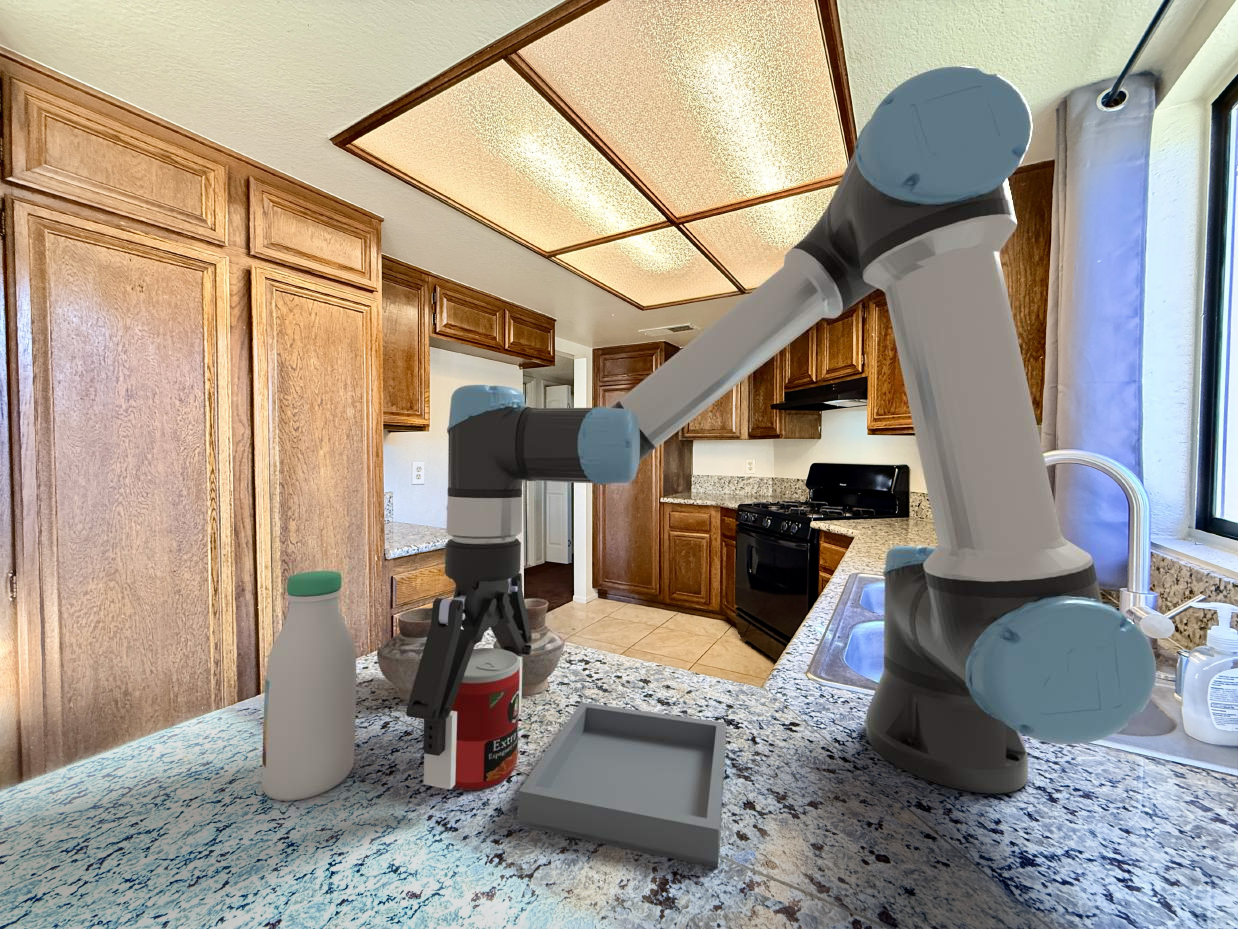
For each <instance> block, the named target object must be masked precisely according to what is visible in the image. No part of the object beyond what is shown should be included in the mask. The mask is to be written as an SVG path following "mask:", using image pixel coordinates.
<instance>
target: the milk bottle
mask: <svg viewBox="0 0 1238 929" xmlns="http://www.w3.org/2000/svg"><path fill="white" fill-rule="evenodd" d="M342 577H343V576H342V574H341V573H340V572H338V571H333V570H315V571H305V572H300V573H296V574H293V575H291V576H289V577H288V578H287V581H286V592H287V596H286V600H287V601H288V602H289V605H288V606H289V608H288V610H287V614H286V618H285V620H284V623H283V625H282V628H281V629H280V631H279V633H278V635H277V637H276V638H275V641H274V642H273V645H272V646H271V649H270V652H269V656H268V659H267V665H266V669H265V682H264V698H263V699H264V700H263V701H264V702H263V703H264V704H263V723H262V724H263V726H262V728H263V729H262V730H263V731H262V758H261V759H262V760H261V761H262V763H261V764H262V766H261V769H262V770H261V785H262V786H261V788H262V790H263V792H264V794H265V795H266V796H267V797H268V798H270V799H273V800H276V801H283V802H284V801H286V802H287V801H288V802H291V801H300V800H304V799H308V798H312V797H316V796H318V795H321V794H323V793H326V792H327V791H329V790H332V789H333V788H334V787H336V786H338V785H339V784H341V783H342V782H343V781H345V779H347V777H348V776H349V775H350V773H351V771H352V769H353V767H354V764H355V752H356V750H355V748H356V744H355V743H356V715H357V714H356V712H357V711H356V708H357V652H356V647H355V642H354V639H353V636H352V634H351V632H350V630H349V627H348V626H347V624H346V621H345V619H344V617H343V615H342V611H341V608H340V603H339V596H341V595H342V590H341V588H342V582H343V581H342V579H343V578H342Z"/></svg>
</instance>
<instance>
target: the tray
mask: <svg viewBox="0 0 1238 929" xmlns="http://www.w3.org/2000/svg"><path fill="white" fill-rule="evenodd" d="M726 736H727V722H723V721H717V720H710V719H709V720H708V719H703V718H695V717H688V716H681V715H676V714H675V715H674V714H666V713H660V712H655V711H654V712H653V711H645V710H639V709H633V708H631V709H630V708H625V707H616V706H611V705H604V704H597V703H591V702H590V703H589V702H583V701H580V703H579V704H578V706H577V707H576V709H575V710H574V711H573V713H572V714H571V716H569V719H568V720H567V721H566V723H565V724H564V726H563V727H562V729H560V731H559V733H558V734H557V735H556V737H555V738H554V739H553V741H552V743H551V744H550V746H549V747H548V748H547V750H546V751H545V753H544V754H543V755H542V757H541V758H540V760H539V761H538V763H537V764H536V766H535V767H534V769H533V770H532V771H531V772H530V773H529V776H528V777H527V778H526V780H525V781H524V782H523V784H522V785H521V787H520V788H519V790H518V796H517V797H518V803H517V804H518V805H517V807H518V808H517V826H518V827H522V828H526V829H532V830H535V831H540V832H541V831H542V832H546V833H550V834H555V835H559V836H565V837H570V838H575V839H579V840H584V841H589V842H594V843H597V844H603V845H606V846H612V847H616V848H621V849H627V850H631V851H634V852H639V853H644V854H645V853H646V854H650V855H655V856H659V857H663V858H669V859H674V860H677V861H681V862H683V861H684V862H688V863H693V864H696V865H701V866H706V867H710V868H715V869H719V862H720V861H719V860H720V859H719V858H720V842H721V830H722V829H721V827H722V814H723V813H722V811H723V798H724V797H723V796H724V782H725V781H724V780H725V779H724V778H725V764H726V762H725V761H726V747H727V746H726V742H727V740H726V739H727V737H726ZM723 781H724V782H723ZM722 797H723V798H722ZM721 813H722V814H721ZM720 829H721V830H720Z"/></svg>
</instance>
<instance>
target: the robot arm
mask: <svg viewBox="0 0 1238 929" xmlns="http://www.w3.org/2000/svg"><path fill="white" fill-rule="evenodd" d="M1032 133H1033V119H1032V114H1031V110H1030V106H1029V104H1028V102H1027V101H1026V99H1025V97H1024V95H1023V94H1022V93H1021V92H1020V90H1019V89H1018V88H1017V87H1016V86H1015V85H1014V84H1013V83H1011V82H1010V81H1009V80H1007V79H1005V78H1004V77H1003V76H1000V75H999V74H998V73H994V74H992V73H991V74H989V73H985V72H983V71H982V70H981V68H979V67H974V66H967V65H966V66H965V65H964V66H963V65H952V66H944V67H938V68H934V69H930V70H927V71H924V72H921V73H919V74H917V75H914V76H912V77H911V78H909V79H907V80H905V81H903V82H902V83H900V84H899V85H898V86H896V87H895V88H894V89H892V91H890V92H889V93H888V94H887V95H886V96H885V97H884V98H883V100H882V101H881V102H880V103H879V105H878V106H877V107H876V108H875V111H874V112H873V113H872V115H871V118H870V119H869V120H868V121H867V122H866V123H865V125H864V126H863V127H862V129H861V130H860V133H859V134H858V136H857V139H856V142H855V146H854V151H853V154H852V156H851V158H850V160H849V162H848V164H847V166H846V168H845V171H844V172H843V175H842V177H841V179H840V182H839V183H838V185H837V187H836V190H835V191H834V193H833V195H832V198H831V200H830V202H828V206H827V207H826V209H825V210H824V212H823V213H822V215H821V217H819V219H818V221H817V222H816V223H815V225H814V226H813V227H812V229H810V231H809V232H808V233H807V234H805V236H804V237H803V238H802V239H801V240H800V241H799V242H798V243H796V245H794V246H793V247H792V248H790V249H789V250H788V251H787V252H786V254H785V255H784V259H783V260H784V261H783V266H782V267H781V268H780V269H779V270H777V271H776V272H775V273H773V274H772V275H771V276H770V277H769V278H767V279H766V280H765V281H763V283H761V284H760V285H759V286H758V287H757V288H755V289H754V290H753V291H752V292H750V293H749V294H747V296H745V297H744V298H743V299H742V300H740V301H739V302H738V303H737V304H736V305H734V306H733V307H732V308H731V309H729V310H728V311H727V312H726V313H724V315H722V316H721V317H719V318H718V319H717V320H715V321H714V322H713V323H712V324H711V325H710V326H708V327H707V328H706V329H705V330H704V331H702V332H701V333H699V334H698V336H696V337H695V338H694V339H692V340H691V341H690V342H689V343H687V344H686V345H685V346H684V347H682V348H681V349H680V350H679V351H677V353H675V354H674V355H673V356H671V357H670V358H669V359H668V360H667V361H665V362H664V363H663V364H662V365H660V366H659V367H658V368H657V369H655V370H654V371H653V372H652V373H651V374H649V375H648V376H647V377H646V378H644V379H643V380H642V381H641V382H639V384H637V385H636V386H634V388H632V389H631V390H630V391H628V393H626V394H625V395H624V396H623V397H621V398H619V400H618V401H617V402H616V403H615V404H613V405H611V406H610V407H607V406H604V405H603V406H602V405H599V406H596V407H546V408H543V407H541V408H538V407H530V406H527V404H526V403H525V395H524V393H523V392H522V390H520V389H517V388H514V387H509V386H505V385H504V386H503V385H489V384H468V385H463V386H460V387H458V388H457V389H455V390H454V391H453V392H452V394H451V397H450V406H449V407H450V408H449V417H448V426H447V428H446V433H447V435H448V449H447V450H448V453H447V456H448V459H447V460H448V462H447V464H448V468H447V469H448V471H447V472H448V473H447V474H448V475H447V502H446V503H447V504H446V530H445V531H446V532H445V533H446V534H447V535H448V536H450V537H452V538H450V539H448V540H447V542H445V545H444V547H445V548H444V574H445V575H446V577H447V578H448V579H451V580H452V581H453V582H454V584H455V589H454V594H453V597H452V598H442V597H436V598H434V600H433V602H432V607H431V608H432V617H431V626H430V629H429V633H428V636H427V640H426V643H425V646H424V650H423V653H422V657H421V660H420V664H419V667H418V671H417V674H416V678H415V681H414V685H413V688H412V692H411V695H410V698H409V701H408V703H407V706H406V709H405V715H406V716H407V717H408V718H413V719H420V720H423V745H422V746H423V747H422V750H423V753H424V755H423V756H424V757H423V758H424V759H423V760H424V761H423V785H425V786H431V787H437V788H441V789H445V790H452V789H453V788H454V787H453V786H454V785H455V772H456V734H457V712H456V711H451V710H452V707H453V704H454V701H455V699H456V696H457V693H458V690H459V688H460V685H461V682H462V679H463V677H464V674H465V671H466V668H467V666H468V663H469V660H470V657H471V655H472V652H473V649H475V647H476V645H477V644H478V643H481V642H482V641H483V637H484V635H485V633H486V632H487V631H488V630H489V629H490V630H491V631H492V632H491V633H492V634H493V635H494V638H495V640H497V641H498V643H499V645H500V647H501V649H502V650H506V651H510V652H512V653H514V654H516V655H517V656H518V658H519V664H520V684H519V716H520V715H521V713H522V657H521V654H522V655H530V653H531V645H525V644H530V643H531V641H532V634H531V629H530V625H529V620H528V615H527V611H526V606H525V601H524V599H525V597H524V593H523V575H522V573H521V558H522V557H521V555H522V554H521V552H522V550H521V548H522V547H521V546H522V543H521V541H520V540H519V539H518V538H516V537H517V536H518V535H520V534H521V533H522V532H523V531H522V530H523V528H522V527H523V523H522V522H523V482H524V481H526V482H537V481H538V482H552V483H554V482H555V483H556V482H557V483H571V484H572V483H574V484H575V483H576V484H578V483H579V484H595V485H596V486H597V485H598V486H603V485H611V484H628V483H631V482H632V481H633V480H635V478H636V476H637V472H638V471H639V464H640V462H641V461H642V460H643V459H645V458H646V457H647V456H649V454H651V453H652V452H653V451H654V450H655V449H656V448H658V447H659V446H660V445H662V444H663V443H664V442H665V441H667V440H668V439H669V438H671V437H672V436H673V435H674V434H676V433H677V432H678V431H679V430H681V429H682V428H683V427H685V426H686V425H687V424H689V423H690V422H691V421H692V420H694V418H696V417H697V416H699V415H700V414H701V413H702V412H704V411H705V410H707V409H708V407H710V406H712V405H714V403H715V402H716V401H718V400H719V399H720V398H722V397H723V396H724V395H726V394H727V393H728V392H729V391H730V390H732V389H733V388H735V387H736V386H737V385H738V384H739V383H742V381H743V380H744V379H746V378H748V377H749V376H750V375H751V374H752V373H753V372H755V371H756V370H757V369H759V368H760V367H762V366H763V365H764V364H765V363H766V362H768V361H769V360H771V359H772V358H773V357H774V356H775V355H777V354H778V353H779V352H780V351H782V350H783V349H784V348H785V347H787V346H788V345H789V344H791V343H792V342H793V341H795V340H796V339H797V338H798V337H800V336H801V335H802V334H804V333H805V332H806V331H807V330H809V329H810V328H812V326H814V325H815V324H817V322H819V321H820V320H822V319H824V318H825V319H836V318H838V317H839V316H840V315H842V314H843V313H844V312H846V311H847V310H848V309H849V308H851V307H852V306H854V305H855V304H856V303H858V302H859V301H860V300H862V299H863V298H865V297H866V296H868V295H869V294H871V293H873V292H874V291H876V290H877V289H879V290H881V291H883V293H884V294H885V299H886V304H887V308H888V313H889V317H890V322H891V327H892V331H893V336H894V341H895V346H896V349H897V350H896V352H897V355H898V359H899V365H900V370H901V374H902V378H903V383H904V387H905V393H906V397H907V402H908V406H909V412H910V416H911V421H912V426H913V431H914V435H915V441H916V445H917V448H918V455H919V458H920V463H921V468H922V473H923V477H924V478H923V479H924V482H925V487H926V488H925V489H926V492H927V497H928V501H929V506H930V511H931V515H932V520H933V525H934V529H935V535H936V539H937V544H936V545H937V546H917V545H916V546H915V545H913V546H912V545H895V546H892V547H891V548H890V549H889V550H888V551H887V552H886V554H885V555H886V556H885V566H884V567H885V568H884V569H883V571H882V572H883V573H882V575H883V578H884V600H883V601H884V602H883V603H884V609H883V611H884V617H883V621H884V624H883V628H884V629H883V669H882V670H883V671H882V674H881V676H880V678H879V681H878V684H877V686H876V687H875V688H876V689H875V690H874V691H875V692H874V693H873V696H872V699H871V701H870V704H869V706H868V708H867V711H866V716H865V720H866V721H865V735H866V739H867V741H868V743H869V744H870V746H871V747H872V748H873V749H874V750H875V751H876V752H877V753H878V754H879V755H881V756H882V757H883V758H885V760H887V761H889V762H890V763H891V764H894V765H895V766H897V767H898V768H899V769H902V770H904V771H906V772H908V773H910V774H912V775H915V776H917V777H919V778H921V779H922V780H923V779H924V780H926V781H929V782H931V783H935V784H937V785H938V784H939V785H941V786H945V787H948V788H952V789H956V790H960V791H966V792H971V793H977V794H978V793H980V794H1006V793H1007V794H1008V793H1011V792H1014V791H1018V790H1020V789H1022V788H1023V787H1024V786H1025V785H1026V784H1027V781H1028V779H1029V778H1028V777H1029V773H1028V772H1029V758H1028V752H1027V749H1026V746H1025V743H1024V740H1023V737H1022V735H1023V736H1025V737H1029V738H1031V739H1034V740H1037V741H1040V742H1043V743H1049V744H1054V745H1055V744H1056V745H1079V744H1089V743H1094V742H1096V741H1100V740H1102V739H1106V738H1108V737H1110V736H1113V735H1114V734H1117V733H1119V732H1120V731H1122V730H1124V728H1126V727H1127V726H1128V725H1129V722H1130V719H1131V718H1132V717H1134V716H1135V715H1140V714H1141V713H1142V712H1143V711H1144V710H1145V708H1146V707H1147V705H1148V703H1149V702H1150V699H1151V698H1152V696H1153V692H1154V689H1155V686H1156V681H1157V662H1156V657H1155V653H1154V651H1153V648H1152V646H1151V643H1150V641H1149V639H1148V638H1147V636H1146V634H1145V633H1144V632H1143V631H1142V629H1141V628H1140V627H1139V626H1138V625H1137V624H1136V623H1134V622H1133V621H1132V620H1130V619H1129V618H1128V617H1127V616H1126V615H1125V614H1124V613H1123V612H1122V611H1119V610H1118V609H1117V608H1115V607H1114V606H1112V605H1111V604H1107V603H1103V602H1104V601H1103V598H1102V594H1101V590H1100V585H1099V581H1098V577H1097V572H1096V567H1095V563H1094V560H1093V557H1092V556H1091V554H1090V553H1089V552H1087V551H1085V550H1084V549H1082V548H1080V547H1078V546H1077V545H1076V544H1074V543H1072V542H1071V541H1068V540H1067V539H1066V538H1064V536H1063V534H1062V532H1061V527H1060V523H1059V519H1058V514H1057V510H1056V505H1055V501H1054V496H1053V492H1052V486H1051V482H1050V479H1049V478H1050V477H1049V473H1048V469H1047V464H1046V460H1045V456H1044V451H1043V448H1042V447H1043V446H1042V442H1041V438H1040V434H1039V433H1040V432H1039V428H1038V424H1037V420H1036V413H1035V411H1034V406H1033V401H1032V397H1031V393H1030V388H1029V384H1028V379H1027V375H1026V371H1025V370H1026V369H1025V365H1024V361H1023V356H1022V353H1021V348H1020V344H1019V343H1020V342H1019V340H1018V339H1019V338H1018V334H1017V329H1016V325H1015V322H1014V321H1015V320H1014V317H1013V313H1012V307H1011V302H1010V297H1009V294H1008V289H1007V286H1006V280H1005V275H1004V272H1003V271H1004V270H1003V268H1002V264H1001V263H1002V262H1001V258H1000V254H1001V250H1002V248H1003V247H1004V246H1005V244H1006V243H1007V242H1008V240H1009V239H1010V237H1011V236H1013V233H1014V232H1015V230H1016V229H1017V227H1018V221H1017V216H1016V213H1015V207H1014V203H1013V199H1012V194H1011V190H1010V186H1009V180H1008V178H1010V177H1011V176H1012V175H1013V174H1014V173H1015V171H1016V170H1017V169H1018V168H1019V166H1020V165H1021V163H1022V161H1023V160H1024V157H1025V155H1026V153H1027V151H1028V148H1029V146H1030V143H1031V139H1032ZM519 630H521V631H522V632H519ZM442 700H443V701H442Z"/></svg>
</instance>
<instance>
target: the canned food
mask: <svg viewBox="0 0 1238 929" xmlns="http://www.w3.org/2000/svg"><path fill="white" fill-rule="evenodd" d="M519 684H520V664H519V658H518V656H517V655H516V654H514V653H512V652H510V651H506V650H502V649H496V648H493V647H481V648H478V647H477V648H474V649H473V652H472V655H471V657H470V660H469V663H468V666H467V668H466V671H465V674H464V677H463V679H462V682H461V685H460V688H459V690H458V693H457V696H456V699H455V701H454V704H453V707H452V710H451V711H456V712H457V734H456V772H455V785H454V786H453V787H452V788H456V789H459V790H465V791H467V790H468V791H475V790H477V791H478V790H484V789H488V788H491V787H495V786H496V785H499V784H500V783H502V782H504V781H505V780H506V779H508V778H509V777H510V776H511V775H512V774H513V772H514V770H515V767H516V764H517V761H518V756H519V755H518V754H519V753H518V752H519V751H518V750H519V716H520V715H519ZM442 701H443V700H442Z"/></svg>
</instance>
